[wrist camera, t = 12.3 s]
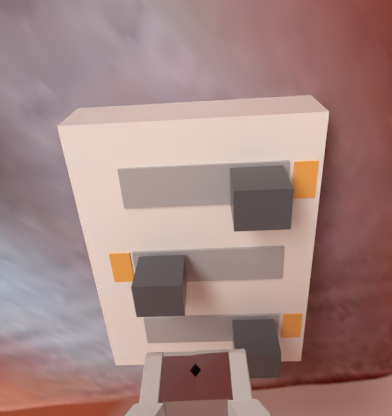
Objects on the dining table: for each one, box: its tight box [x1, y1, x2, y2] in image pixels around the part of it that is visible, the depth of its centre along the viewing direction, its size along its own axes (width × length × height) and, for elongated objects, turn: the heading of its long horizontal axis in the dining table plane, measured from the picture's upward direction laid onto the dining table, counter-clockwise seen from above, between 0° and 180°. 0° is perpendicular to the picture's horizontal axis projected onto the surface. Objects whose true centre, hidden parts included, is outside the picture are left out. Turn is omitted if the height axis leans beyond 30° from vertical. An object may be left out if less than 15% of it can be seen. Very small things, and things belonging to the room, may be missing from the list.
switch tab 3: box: [232, 319, 281, 378], centre depth 26 cm, size 3×2×3 cm
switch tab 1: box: [131, 255, 187, 317], centre depth 24 cm, size 3×2×3 cm
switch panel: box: [57, 95, 329, 365], centre depth 27 cm, size 15×20×4 cm
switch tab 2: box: [230, 165, 294, 232], centre depth 21 cm, size 3×2×3 cm
